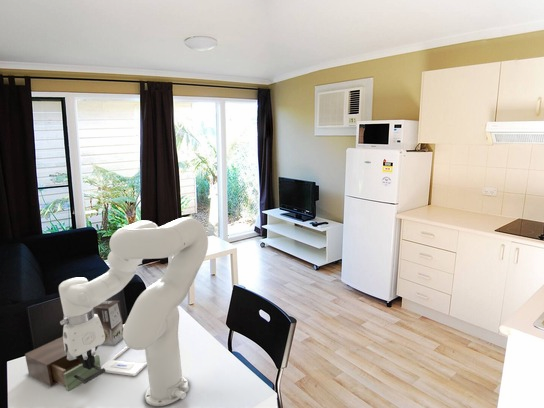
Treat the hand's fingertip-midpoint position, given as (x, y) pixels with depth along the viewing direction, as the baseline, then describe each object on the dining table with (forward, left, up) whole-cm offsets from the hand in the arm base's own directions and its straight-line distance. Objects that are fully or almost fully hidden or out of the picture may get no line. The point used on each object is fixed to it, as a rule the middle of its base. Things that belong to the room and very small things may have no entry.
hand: (89, 367), depth 115 cm
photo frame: (+1, -16, -7) cm, 17 cm away
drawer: (+6, 0, -6) cm, 9 cm away
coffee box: (+21, -19, -7) cm, 29 cm away
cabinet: (+19, 0, -7) cm, 21 cm away
